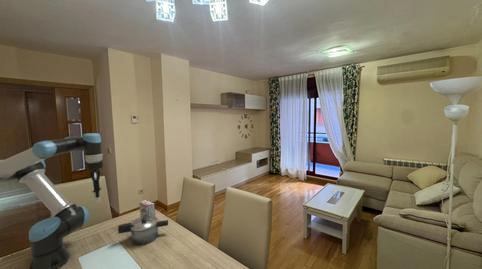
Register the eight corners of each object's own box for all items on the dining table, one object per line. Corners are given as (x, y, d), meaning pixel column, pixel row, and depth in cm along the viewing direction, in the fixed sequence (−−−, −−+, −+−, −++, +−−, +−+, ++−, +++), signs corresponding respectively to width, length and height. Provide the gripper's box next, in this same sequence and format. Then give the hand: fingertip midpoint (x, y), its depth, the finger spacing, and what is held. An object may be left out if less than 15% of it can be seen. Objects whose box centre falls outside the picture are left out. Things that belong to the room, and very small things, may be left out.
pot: (116, 250, 111) (114, 236, 110) (124, 234, 126) (122, 221, 125) (167, 240, 119) (166, 227, 118) (169, 227, 133) (168, 214, 132)
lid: (116, 237, 109) (115, 231, 108) (120, 222, 123) (120, 217, 123) (157, 227, 117) (157, 222, 117) (157, 215, 131) (157, 210, 131)
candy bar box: (140, 224, 138) (138, 202, 136) (147, 220, 142) (145, 199, 140) (149, 228, 132) (148, 206, 130) (156, 225, 136) (154, 203, 134)
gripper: (102, 162, 104) (106, 204, 106) (102, 158, 114) (105, 196, 117) (84, 165, 99) (89, 208, 102) (86, 159, 109) (90, 199, 112)
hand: (98, 201), depth 109 cm, fingers closed
